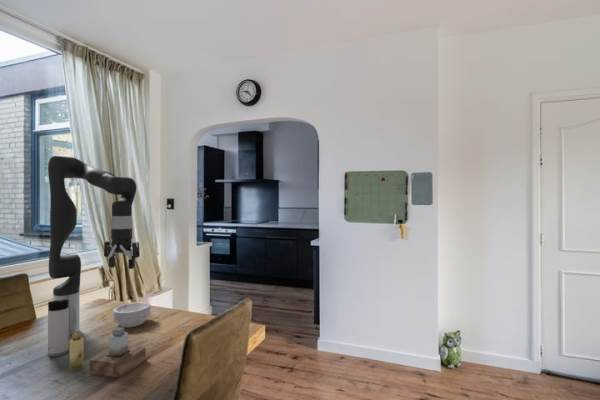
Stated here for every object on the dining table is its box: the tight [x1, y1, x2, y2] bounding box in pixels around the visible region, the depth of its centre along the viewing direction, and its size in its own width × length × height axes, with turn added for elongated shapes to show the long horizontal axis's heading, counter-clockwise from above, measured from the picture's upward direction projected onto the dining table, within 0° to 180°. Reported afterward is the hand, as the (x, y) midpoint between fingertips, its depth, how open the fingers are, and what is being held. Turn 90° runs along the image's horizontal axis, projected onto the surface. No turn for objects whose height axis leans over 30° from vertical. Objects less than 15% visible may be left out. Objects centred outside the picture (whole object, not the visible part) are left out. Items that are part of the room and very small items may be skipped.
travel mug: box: [47, 299, 70, 358], centre depth 124 cm, size 6×7×20 cm
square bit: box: [108, 326, 129, 358], centre depth 114 cm, size 4×4×12 cm
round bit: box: [68, 331, 85, 372], centre depth 113 cm, size 4×4×12 cm
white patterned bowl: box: [112, 301, 151, 328], centre depth 153 cm, size 15×15×8 cm
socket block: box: [89, 345, 147, 378], centre depth 114 cm, size 12×12×4 cm
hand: (121, 268), depth 132 cm, fingers open, 8 cm apart
